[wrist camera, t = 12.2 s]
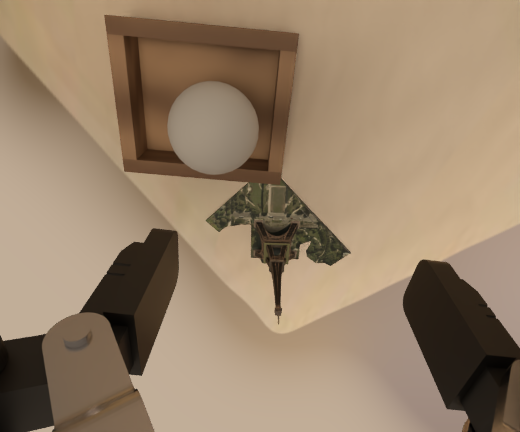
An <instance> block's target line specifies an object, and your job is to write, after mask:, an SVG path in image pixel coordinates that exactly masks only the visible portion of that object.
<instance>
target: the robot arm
mask: <svg viewBox="0 0 520 432" xmlns="http://www.w3.org/2000/svg"><path fill="white" fill-rule="evenodd" d="M178 270H179V261H178V234H177V231H172V230H162V229H152V230H151V232H150V233H149V235H148V237H147V239H146V240H145V242H144V243H140V242H134V243H132V244H130V245H129V246H128V247H126V248H125V249H124V250H122V251H121V252H120V253H119V255H118V256H117V258H116V259H115V261H114V262H113V265H111V267H110V268H109V270H108V271H107V274H106V275H105V276H104V277H103V279H102V280H101V282H100V283H99V285H98V286H97V288H96V289H95V291H94V292H93V293H92V295H91V296H90V298H89V299H88V301H87V302H86V304H85V305H84V307H83V308H82V310H81V312H80V313H78V314H75V315H71V316H69V317H66V318H65V319H63V320H61V321H60V322H58V323H56V324H55V325H54V326H53V327H52V328H51V329H50V330H49V331H48V333H47V334H43V335H38V336H32V337H26V338H20V339H13V340H7V341H3V340H2V338H1V336H0V432H28V431H33V430H37V429H41V428H46V427H50V426H54V430H53V431H52V432H154V429H153V427H152V424H151V421H150V418H149V416H148V413H147V411H146V408H145V405H144V403H143V400H142V398H141V396H140V393H139V391H138V390H137V389H134V387H133V384H132V382H131V379H130V376H129V374H131V375H141V376H142V374H143V371H144V368H145V366H146V363H147V361H148V358H149V355H150V353H151V350H152V347H153V345H154V342H155V339H156V337H157V334H158V331H159V329H160V326H161V324H162V321H163V318H164V315H165V313H166V310H167V308H168V305H169V302H170V300H171V297H172V294H173V292H174V289H175V286H176V283H177V278H178ZM403 308H404V312H405V315H406V317H407V319H408V321H409V324H410V326H411V328H412V330H413V333H414V335H415V337H416V340H417V342H418V344H419V346H420V349H421V351H422V353H423V355H424V358H425V360H426V362H427V365H428V367H429V369H430V371H431V374H432V376H433V378H434V381H435V383H436V385H437V387H438V390H439V392H440V394H441V396H442V399H443V401H444V403H445V405H446V408H447V409H452V410H462V411H466V414H467V415H468V420H467V421H466V422H465V424H464V426H463V429H462V432H520V348H519V347H518V345H517V344H516V343H515V341H514V340H513V338H512V337H511V336H510V334H509V333H508V332H507V330H506V329H505V328H504V326H503V325H502V324H501V322H500V321H499V320H498V319H496V316H495V314H494V313H493V312H492V310H491V309H490V308H489V307H487V303H486V302H485V301H484V300H483V298H482V297H481V295H480V294H479V293H478V291H476V290H475V289H474V288H473V287H471V286H470V285H469V284H468V283H467V282H465V281H464V280H463V279H460V278H459V277H458V275H457V274H456V272H455V271H454V269H453V268H452V267H451V265H450V264H448V263H447V262H440V261H431V260H421V261H420V262H419V263H418V265H417V267H416V269H415V271H414V274H413V276H412V278H411V280H410V282H409V285H408V287H407V289H406V291H405V294H404V297H403Z"/></svg>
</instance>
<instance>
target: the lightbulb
mask: <svg viewBox="0 0 520 432" xmlns="http://www.w3.org/2000/svg"><path fill="white" fill-rule="evenodd" d="M167 128H168V136H169V140H170V143H171V146H172V148H173V150H174V152H175V153H176V155H177V156H178V157H179V159H180V160H181V161H182V162H184V163H185V164H186V165H187V166H189V167H190V168H192V169H193V170H196V171H198V172H201V173H205V174H211V175H218V174H224V173H228V172H231V171H233V170H235V169H237V168H239V167H240V166H241V165H243V164H244V163H245V162H246V161H247V160H248V158H249V157H250V156H251V155H252V153H253V151H254V149H255V147H256V144H257V140H258V132H259V125H258V118H257V115H256V112H255V109H254V108H253V106H252V104H251V102H250V101H249V100H248V99H247V97H246V96H245V95H244V94H243V93H241V92H240V91H239V90H238V89H236V88H234V87H233V86H231V85H229V84H226V83H222V82H218V81H205V82H200V83H197V84H194V85H192V86H190V87H189V88H187V89H186V90H184V91H183V92H182V93H181V94H180V95H179V96H178V97H177V98H176V100H175V101H174V103H173V105H172V107H171V109H170V112H169V116H168V124H167Z"/></svg>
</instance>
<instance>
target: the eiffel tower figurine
mask: <svg viewBox="0 0 520 432" xmlns="http://www.w3.org/2000/svg"><path fill="white" fill-rule="evenodd" d="M206 221H207V222H208V223H209V224H210V225H211V226H212V227H214V228H215V229H216V230H217V231H218V232H220V231H221V230H222V229H223V228H225V227H227V226H235V225H241V224H243V225H246V224H250V225H251V257H252V258H260V259H261V261H262V263H267V264H268V266H269V271H270V272H271V274H272V279H273V286H274V295H275V305H276V307H275V315H277V316H278V325H279V316H281V313H282V308H281V306H280V300H281V275H282V272H284V265H285V264H288V261H289V260H291V259H298V257H299V247H300V244H302V243H305V242H309V241H311V243H310V246H309V247H308V249H307V250H306V253H307V257H308V258H310V259H311V260H313V261H314V262H315V263H326V264H328V265H330V266H331V265H333V264H334V263H336V262H337V261H339V260H340V259H342V258H343V257H345V256H347V255H348V254H350V253H351V252H350V251H349V250H348V249H347V248H346V247H345V246H344V245H343V244H342V243H341V242H340V241H339V240H338V239H337V238H336V236H335V235H334V234H333V233H332V232H331V231H330V230H329V229H328V228H327V227H326V226H325V225H324V224H323V223H322V222H321V221H320V220H319V219H318V218H317V217H316V216H315V215H314V214H313V213H312V211H311V210H310V209H309V208H308V207H307V206H306V205H305V204H304V203H303V202H302V201H301V200H300V199H299V198H298V196H297V195H296V194H295V193H294V192H293V191H292V190H291V189H290V188H289V187H288V186H287V184H286V183H285V182H284V181H283V180H282V179H281V181H280V185H274V184H263V183H251V182H249V183H247V184H246V185H245V186H244V187H243V188H242V189H241V190H240V191H238V192H237V193H236V194H235V195H234V196H233V197H232V198H231V199H230V200H228V201H227V202H226V203H225V204H224V205H223V206H222V207H221V208H220V209H219V210H217V211H216V212H215V213H214V214H213V215H212V216H211V217H210V218H208V219H207V220H206Z"/></svg>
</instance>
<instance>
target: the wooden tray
mask: <svg viewBox="0 0 520 432" xmlns="http://www.w3.org/2000/svg"><path fill="white" fill-rule="evenodd" d="M104 16H105V24H106V31H107V39H108V47H109V55H110V63H111V70H112V78H113V86H114V94H115V102H116V109H117V117H118V125H119V133H120V141H121V148H122V156H123V164H124V171H125V172H136V173H148V174H159V175H171V176H182V177H194V178H205V179H217V180H228V181H240V182H251V183H263V184H274V185H280V181H281V173H282V165H283V157H284V149H285V141H286V133H287V125H288V117H289V109H290V101H291V93H292V85H293V77H294V69H295V61H296V53H297V45H298V37H299V34H297V33H287V32H277V31H267V30H256V29H246V28H236V27H225V26H215V25H204V24H194V23H184V22H173V21H163V20H153V19H142V18H132V17H121V16H111V15H104ZM205 81H218V82H222V83H226V84H229V85H231V86H233V87H234V88H236V89H238V90H239V91H240V92H241V93H243V94H244V95H245V96H246V97H247V99H248V100H249V101H250V102H251V104H252V106H253V108H254V109H255V112H256V115H257V118H258V125H259V132H258V140H257V144H256V147H255V149H254V151H253V153H252V155H251V156H250V157H249V158H248V160H247V161H246V162H245V163H244V164H243V165H241V166H240V167H239V168H237V169H235V170H233V171H231V172H228V173H224V174H218V175H211V174H205V173H201V172H198V171H196V170H193V169H192V168H190V167H189V166H187V165H186V164H185V163H184V162H182V161H181V160H180V159H179V157H178V156H177V155H176V153H175V152H174V150H173V148H172V146H171V143H170V140H169V136H168V128H167V124H168V116H169V112H170V109H171V107H172V105H173V103H174V101H175V100H176V98H177V97H178V96H179V95H180V94H181V93H182V92H183V91H184V90H186V89H187V88H189V87H190V86H192V85H194V84H197V83H200V82H205Z"/></svg>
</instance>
